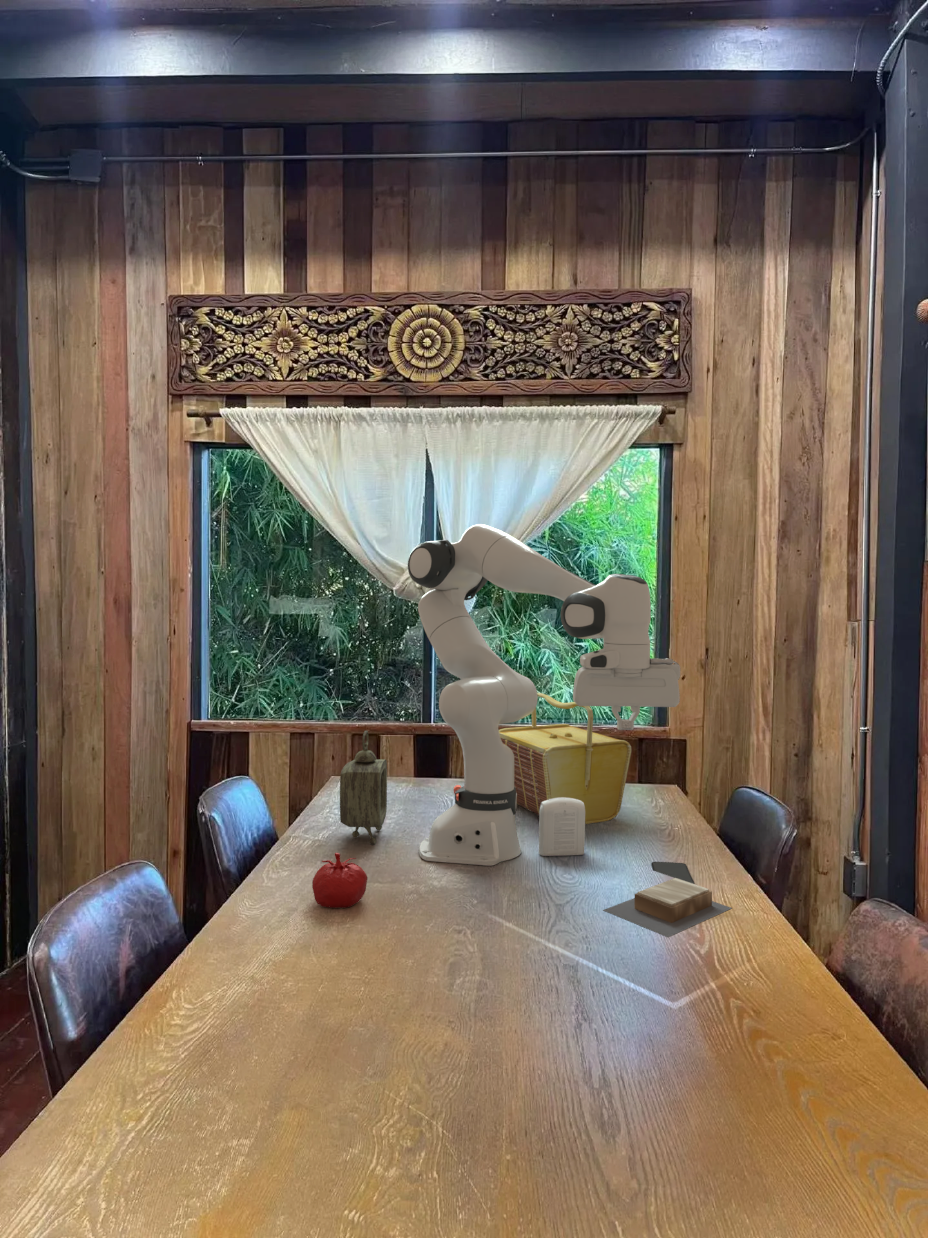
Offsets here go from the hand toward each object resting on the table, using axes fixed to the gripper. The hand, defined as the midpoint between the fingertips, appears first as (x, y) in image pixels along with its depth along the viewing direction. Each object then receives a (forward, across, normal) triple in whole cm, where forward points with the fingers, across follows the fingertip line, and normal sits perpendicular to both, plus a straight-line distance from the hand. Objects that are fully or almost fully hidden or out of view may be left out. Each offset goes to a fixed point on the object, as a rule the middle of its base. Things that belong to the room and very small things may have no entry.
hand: (625, 729), depth 151 cm
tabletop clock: (+32, +55, -29) cm, 69 cm away
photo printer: (+31, +10, -19) cm, 38 cm away
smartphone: (+32, -11, -6) cm, 34 cm away
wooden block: (+29, -2, +15) cm, 32 cm away
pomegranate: (+31, +54, +9) cm, 63 cm away
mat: (+31, -6, +12) cm, 34 cm away
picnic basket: (+32, +7, -52) cm, 61 cm away
